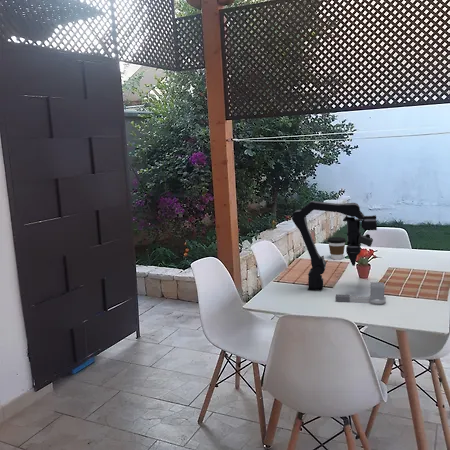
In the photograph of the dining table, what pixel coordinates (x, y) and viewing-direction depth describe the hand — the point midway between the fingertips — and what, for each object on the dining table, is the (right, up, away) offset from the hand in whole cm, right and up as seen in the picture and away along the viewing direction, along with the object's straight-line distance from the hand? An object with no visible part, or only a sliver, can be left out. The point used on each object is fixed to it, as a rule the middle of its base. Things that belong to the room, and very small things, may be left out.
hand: (353, 263), depth 218 cm
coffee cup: (+7, -2, +61) cm, 61 cm away
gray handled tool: (-1, -16, -14) cm, 21 cm away
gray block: (+6, -14, -16) cm, 22 cm away
